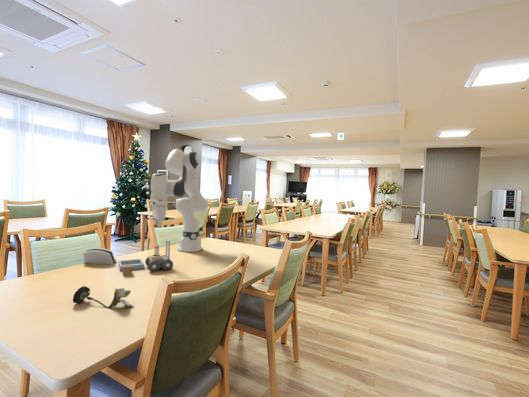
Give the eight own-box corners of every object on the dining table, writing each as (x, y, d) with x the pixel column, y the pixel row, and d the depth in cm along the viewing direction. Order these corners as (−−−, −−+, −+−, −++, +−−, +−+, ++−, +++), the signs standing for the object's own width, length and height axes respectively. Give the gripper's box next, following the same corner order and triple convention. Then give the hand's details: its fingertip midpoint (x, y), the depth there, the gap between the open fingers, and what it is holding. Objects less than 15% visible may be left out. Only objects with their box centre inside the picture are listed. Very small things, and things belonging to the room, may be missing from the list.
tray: (118, 265, 156) (118, 260, 155) (141, 262, 162) (141, 258, 162) (119, 271, 145) (119, 266, 145) (143, 268, 152) (144, 264, 152)
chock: (122, 273, 143) (122, 264, 143) (130, 272, 145) (131, 263, 145) (123, 275, 139) (123, 267, 139) (131, 274, 141) (132, 266, 141)
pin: (153, 257, 153) (154, 245, 153) (158, 257, 154) (158, 244, 154) (154, 258, 151) (155, 246, 151) (159, 258, 152) (159, 245, 152)
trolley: (148, 272, 145) (149, 243, 144) (145, 266, 155) (146, 239, 154) (173, 270, 152) (174, 241, 151) (168, 264, 162) (169, 238, 161)
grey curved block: (117, 261, 162) (114, 247, 158) (112, 266, 157) (110, 252, 153) (89, 260, 162) (86, 246, 158) (84, 265, 157) (80, 250, 154)
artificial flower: (88, 301, 111) (96, 276, 113) (134, 316, 106) (142, 290, 108) (69, 303, 103) (78, 277, 105) (118, 320, 98) (127, 292, 100)
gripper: (150, 200, 159) (149, 224, 159) (155, 202, 142) (155, 228, 142) (161, 200, 162) (160, 223, 163) (168, 202, 145) (167, 228, 145)
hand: (158, 226), depth 152 cm, fingers open, 8 cm apart
